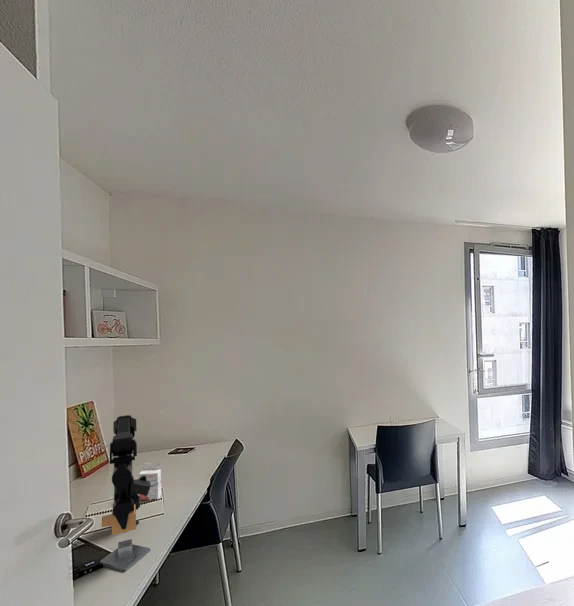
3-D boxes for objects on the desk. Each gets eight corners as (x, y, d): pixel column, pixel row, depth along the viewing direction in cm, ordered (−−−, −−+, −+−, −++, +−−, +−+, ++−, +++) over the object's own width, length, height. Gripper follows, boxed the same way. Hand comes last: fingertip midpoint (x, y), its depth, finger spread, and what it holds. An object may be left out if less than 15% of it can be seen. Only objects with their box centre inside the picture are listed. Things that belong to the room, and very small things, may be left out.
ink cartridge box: (138, 501, 165) (138, 467, 166) (142, 495, 170) (142, 462, 171) (158, 499, 166) (157, 465, 167) (161, 494, 171) (160, 461, 172)
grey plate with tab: (125, 545, 132) (124, 532, 132) (150, 551, 128) (149, 537, 128) (99, 564, 121) (98, 550, 122) (125, 571, 117) (125, 556, 118)
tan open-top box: (102, 526, 126) (102, 511, 126) (135, 519, 130) (135, 504, 130) (101, 537, 119) (101, 521, 119) (136, 529, 123) (135, 513, 123)
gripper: (150, 480, 121) (151, 531, 120) (147, 462, 138) (148, 506, 137) (112, 488, 116) (113, 540, 115) (114, 468, 133) (114, 513, 132)
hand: (124, 523), depth 125 cm, fingers closed on tan open-top box, 7 cm apart
